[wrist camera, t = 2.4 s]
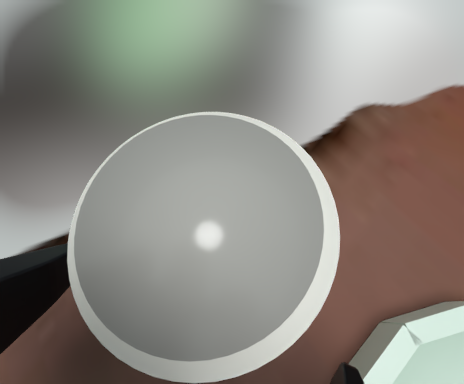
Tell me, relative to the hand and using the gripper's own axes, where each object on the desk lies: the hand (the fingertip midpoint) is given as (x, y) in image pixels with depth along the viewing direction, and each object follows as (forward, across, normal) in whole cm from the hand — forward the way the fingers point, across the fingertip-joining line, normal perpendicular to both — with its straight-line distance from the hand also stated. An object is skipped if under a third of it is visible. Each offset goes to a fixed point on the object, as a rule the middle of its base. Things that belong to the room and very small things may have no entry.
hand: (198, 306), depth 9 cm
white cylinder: (+8, 0, +5) cm, 9 cm away
